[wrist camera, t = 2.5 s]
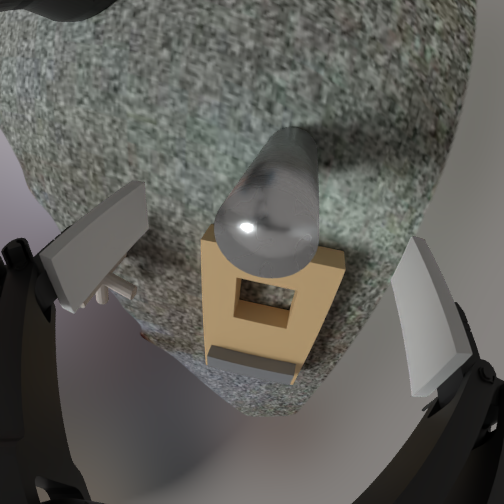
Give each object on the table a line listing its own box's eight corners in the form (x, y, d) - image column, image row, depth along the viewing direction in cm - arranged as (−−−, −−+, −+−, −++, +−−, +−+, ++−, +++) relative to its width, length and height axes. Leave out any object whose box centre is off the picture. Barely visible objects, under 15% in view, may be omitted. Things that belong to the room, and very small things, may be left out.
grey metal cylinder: (270, 123, 21) (215, 178, 10) (321, 132, 21) (330, 200, 10) (264, 169, 24) (213, 266, 13) (312, 179, 24) (305, 286, 12)
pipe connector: (157, 239, 31) (112, 296, 24) (148, 290, 38) (114, 343, 30) (94, 208, 31) (42, 253, 23) (94, 261, 37) (56, 305, 29)
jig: (211, 223, 29) (193, 251, 25) (343, 251, 27) (346, 283, 23) (211, 350, 43) (202, 374, 39) (294, 369, 41) (290, 395, 38)
